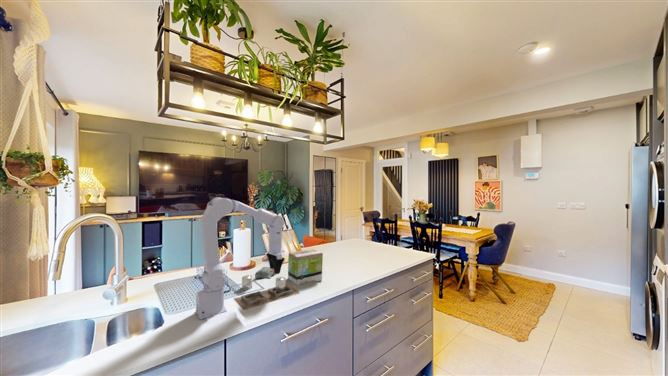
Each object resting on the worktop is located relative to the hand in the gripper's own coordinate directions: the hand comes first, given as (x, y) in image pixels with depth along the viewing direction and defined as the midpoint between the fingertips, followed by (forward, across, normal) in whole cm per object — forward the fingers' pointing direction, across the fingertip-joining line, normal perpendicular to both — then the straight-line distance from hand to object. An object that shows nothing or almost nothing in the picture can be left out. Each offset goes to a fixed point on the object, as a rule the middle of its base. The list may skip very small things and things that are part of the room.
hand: (274, 271), depth 116 cm
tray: (+10, +8, +11) cm, 17 cm away
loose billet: (+10, +8, +11) cm, 16 cm away
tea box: (+10, +7, -18) cm, 22 cm away
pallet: (+10, -5, +4) cm, 12 cm away
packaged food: (+10, +21, -2) cm, 24 cm away
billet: (+8, -4, -2) cm, 10 cm away
